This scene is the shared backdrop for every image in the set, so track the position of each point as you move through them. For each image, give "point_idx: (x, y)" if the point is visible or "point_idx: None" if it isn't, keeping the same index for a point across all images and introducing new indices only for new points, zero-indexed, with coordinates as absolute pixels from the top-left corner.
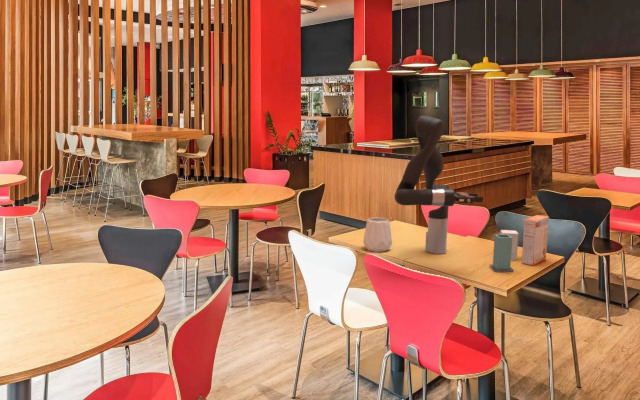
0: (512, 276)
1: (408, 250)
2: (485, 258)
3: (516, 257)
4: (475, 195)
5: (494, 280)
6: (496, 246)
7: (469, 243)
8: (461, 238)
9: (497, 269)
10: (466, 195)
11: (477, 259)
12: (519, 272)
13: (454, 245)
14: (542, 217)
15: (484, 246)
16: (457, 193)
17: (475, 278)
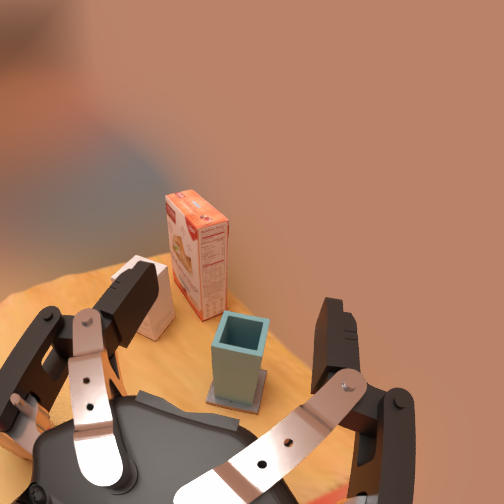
0: (298, 390)
1: (5, 487)
2: (136, 370)
3: (174, 313)
4: (147, 284)
5: (328, 444)
6: (239, 372)
7: None
8: (6, 312)
9: (256, 405)
10: (315, 446)
11: (135, 393)
12: (268, 361)
13: None
14: (197, 198)
15: (64, 312)
16: (109, 487)
17: (308, 485)
